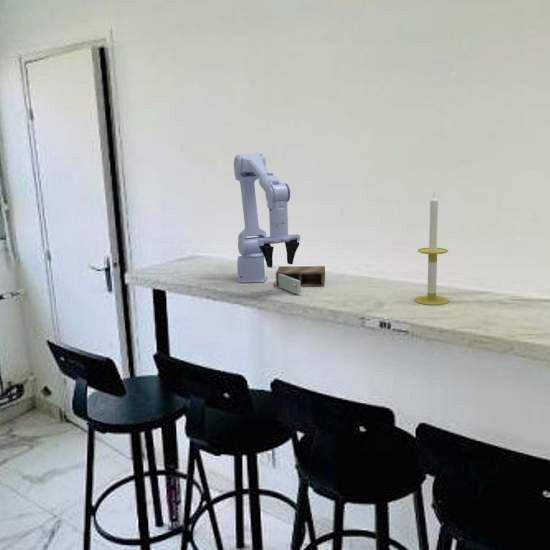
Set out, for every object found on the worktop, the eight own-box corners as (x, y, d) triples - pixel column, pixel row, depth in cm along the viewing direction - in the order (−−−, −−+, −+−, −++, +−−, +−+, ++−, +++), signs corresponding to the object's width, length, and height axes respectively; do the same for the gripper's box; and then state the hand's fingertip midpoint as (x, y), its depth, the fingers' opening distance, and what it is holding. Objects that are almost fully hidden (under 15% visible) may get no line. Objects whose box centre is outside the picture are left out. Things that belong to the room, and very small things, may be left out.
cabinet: (276, 286, 204) (275, 272, 203) (279, 280, 213) (279, 266, 212) (323, 286, 202) (323, 272, 200) (325, 280, 211) (324, 266, 210)
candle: (449, 297, 183) (452, 189, 176) (448, 305, 174) (452, 192, 167) (415, 296, 186) (417, 190, 179) (413, 304, 177) (415, 193, 170)
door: (275, 287, 202) (274, 274, 201) (280, 286, 203) (280, 273, 202) (295, 295, 191) (294, 281, 190) (300, 294, 191) (300, 280, 190)
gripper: (265, 226, 181) (266, 270, 184) (305, 221, 189) (305, 264, 192) (253, 224, 187) (255, 266, 190) (292, 219, 195) (293, 261, 197)
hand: (280, 265), depth 191 cm, fingers open, 7 cm apart
